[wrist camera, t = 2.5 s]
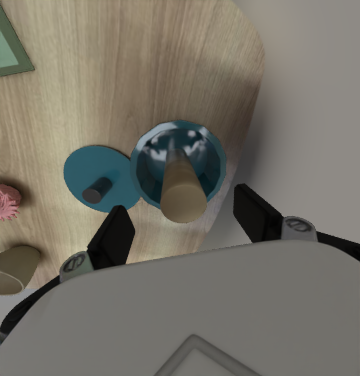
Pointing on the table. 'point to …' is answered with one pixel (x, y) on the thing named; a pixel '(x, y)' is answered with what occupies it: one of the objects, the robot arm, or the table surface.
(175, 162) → the stick
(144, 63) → the table surface
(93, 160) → the pot lid
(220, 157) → the pot
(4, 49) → the tray
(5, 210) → the flower
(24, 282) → the bowl
